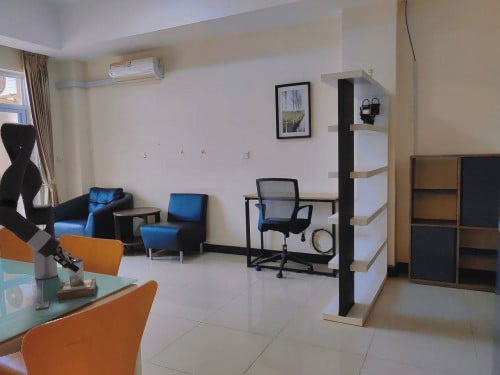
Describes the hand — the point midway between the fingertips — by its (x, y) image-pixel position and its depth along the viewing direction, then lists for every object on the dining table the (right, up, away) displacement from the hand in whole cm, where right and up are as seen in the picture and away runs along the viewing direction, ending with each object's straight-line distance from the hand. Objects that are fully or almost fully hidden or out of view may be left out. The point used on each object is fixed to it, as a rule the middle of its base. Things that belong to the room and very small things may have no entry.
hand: (77, 267), depth 151 cm
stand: (0, -10, +1) cm, 10 cm away
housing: (0, -7, 0) cm, 7 cm away
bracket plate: (-7, -12, -12) cm, 19 cm away
